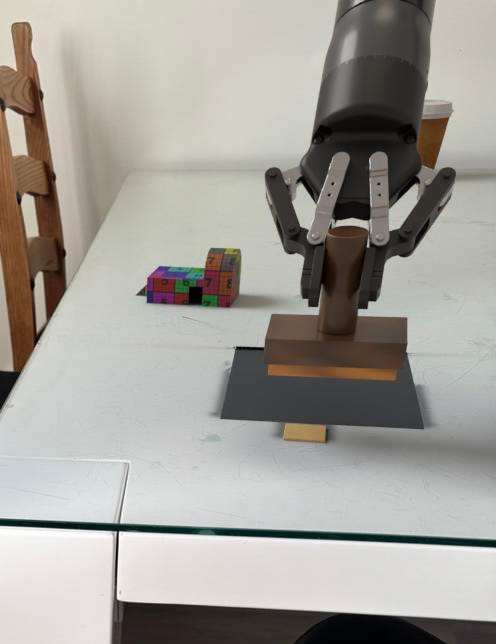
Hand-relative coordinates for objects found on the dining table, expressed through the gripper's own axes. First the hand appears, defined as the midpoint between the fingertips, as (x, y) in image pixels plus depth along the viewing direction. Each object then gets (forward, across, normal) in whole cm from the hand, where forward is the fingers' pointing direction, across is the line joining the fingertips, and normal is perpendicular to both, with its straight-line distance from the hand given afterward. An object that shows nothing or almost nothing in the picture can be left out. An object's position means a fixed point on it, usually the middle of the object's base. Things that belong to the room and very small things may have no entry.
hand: (338, 301), depth 71 cm
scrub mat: (-2, -1, +19) cm, 19 cm away
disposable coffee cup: (-82, +4, +100) cm, 129 cm away
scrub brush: (+2, 0, +6) cm, 6 cm away
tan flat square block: (+7, -1, +10) cm, 12 cm away
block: (-20, -19, +37) cm, 46 cm away
